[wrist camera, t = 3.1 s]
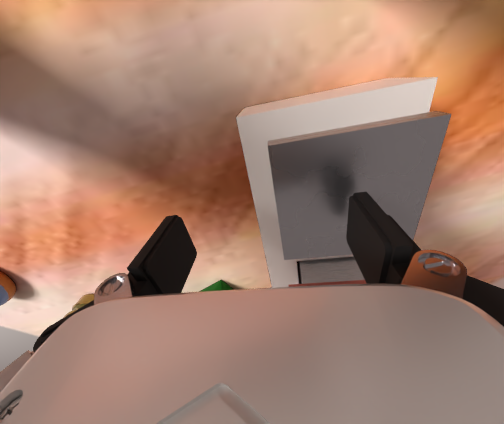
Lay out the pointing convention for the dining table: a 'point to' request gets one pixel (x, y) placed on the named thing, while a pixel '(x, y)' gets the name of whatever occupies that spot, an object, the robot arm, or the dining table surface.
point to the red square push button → (329, 272)
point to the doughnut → (6, 288)
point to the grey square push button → (352, 178)
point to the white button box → (309, 121)
